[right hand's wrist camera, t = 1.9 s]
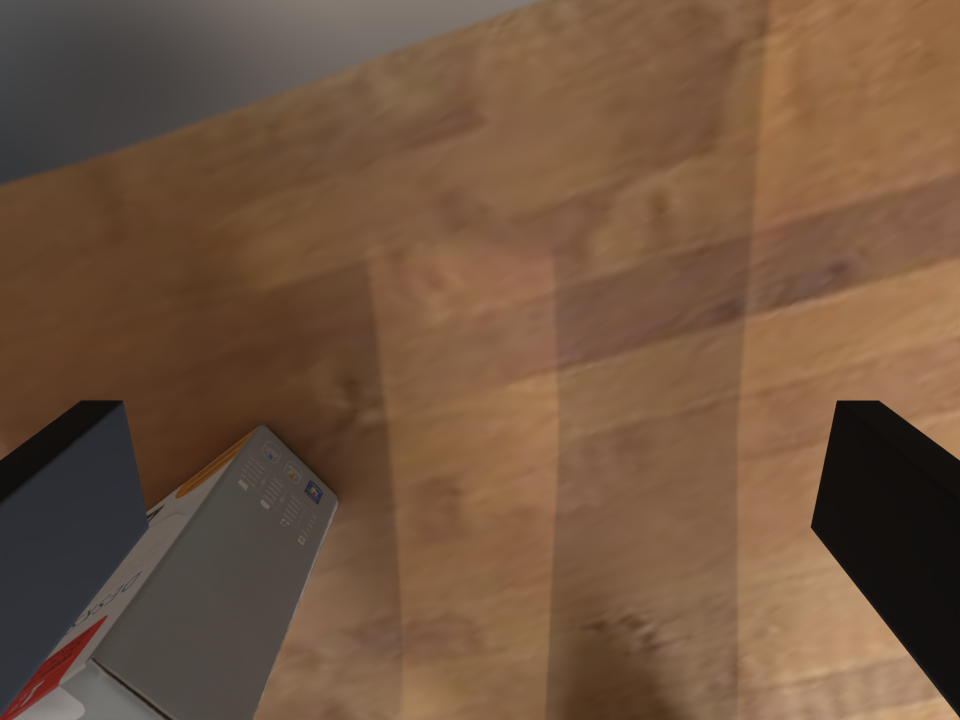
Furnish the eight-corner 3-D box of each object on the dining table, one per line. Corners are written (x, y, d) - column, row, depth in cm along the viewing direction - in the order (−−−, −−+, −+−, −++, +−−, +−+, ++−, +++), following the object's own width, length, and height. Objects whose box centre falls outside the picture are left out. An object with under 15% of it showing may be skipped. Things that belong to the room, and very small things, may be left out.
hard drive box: (262, 417, 43) (95, 655, 24) (343, 497, 45) (247, 774, 26) (102, 542, 46) (-152, 836, 28) (184, 612, 49) (-1, 928, 30)
